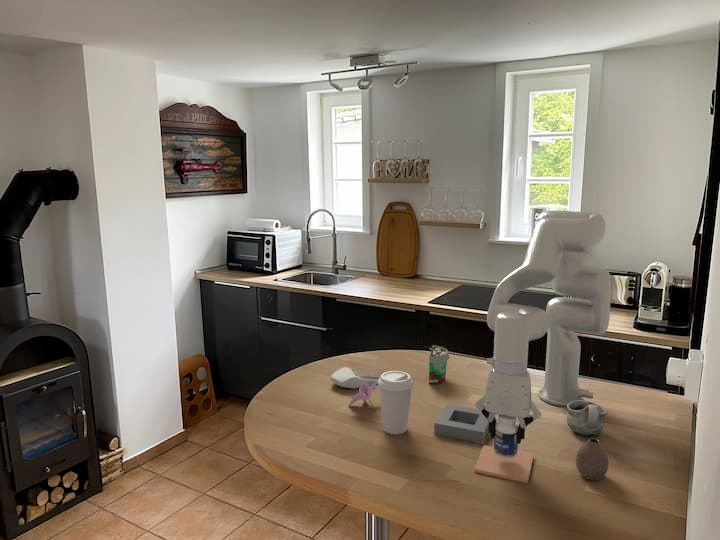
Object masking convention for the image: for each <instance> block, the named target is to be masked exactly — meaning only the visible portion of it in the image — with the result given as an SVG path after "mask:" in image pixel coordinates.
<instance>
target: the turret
mask: <svg viewBox="0 0 720 540" xmlns="http://www.w3.org/2000/svg"><path fill="white" fill-rule="evenodd" d="M381 375H382V374H378V373H377V374H375V373H364V372H363V373H362V372H357V371H356V370H353V369H352V368H350V367H347V366H346V367H345V366H344V367H342V368H339V369H338V370H336V371H333V372H332V374H331V376H330V381H331V383H333V384H334V385H337V386H338V387H341V388H348V389H359V388H360V387H361V385H362V384H363V383H368V384H369V386H371V385H372V384H373V383H375V382H377V381H378V380H379V378H380V377H381ZM376 385H378V383H377V384H376Z"/></svg>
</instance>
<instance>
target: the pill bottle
mask: <svg viewBox="0 0 720 540" xmlns="http://www.w3.org/2000/svg"><path fill="white" fill-rule="evenodd" d="M516 422H517V417H511V416H505V415H499V414H498V420H497V421H496V424H495V436H494V438H493V440H494V441H493V442H494V443H493V447H494V453H495V454H496V455H497V456H498V457H500V458H504V459H512V458H514V457H516V455H517V452H518V445H519V444H518V443H517V434H518V426H519V424H517V423H516Z"/></svg>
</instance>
